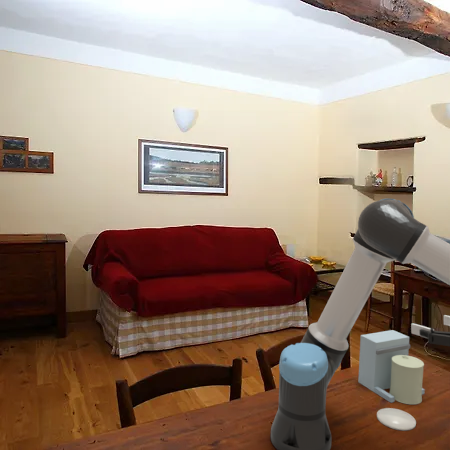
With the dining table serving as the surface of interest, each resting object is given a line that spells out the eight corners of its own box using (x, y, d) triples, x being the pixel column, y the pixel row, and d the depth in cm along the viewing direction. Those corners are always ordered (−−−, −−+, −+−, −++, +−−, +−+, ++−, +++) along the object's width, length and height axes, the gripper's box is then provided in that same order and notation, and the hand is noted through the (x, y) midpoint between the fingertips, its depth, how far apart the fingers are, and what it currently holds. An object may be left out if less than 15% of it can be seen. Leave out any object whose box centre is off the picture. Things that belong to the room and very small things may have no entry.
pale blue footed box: (424, 393, 129) (427, 344, 127) (390, 402, 123) (393, 351, 122) (390, 374, 142) (392, 329, 140) (358, 382, 136) (360, 335, 134)
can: (415, 390, 131) (417, 354, 130) (426, 405, 122) (429, 367, 121) (385, 388, 132) (387, 352, 131) (394, 403, 123) (396, 365, 122)
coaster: (391, 432, 108) (391, 430, 108) (369, 412, 118) (369, 410, 118) (424, 428, 111) (424, 425, 111) (400, 408, 120) (400, 406, 120)
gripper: (475, 373, 93) (398, 345, 112) (536, 350, 104) (457, 328, 123) (474, 340, 93) (397, 318, 112) (536, 321, 104) (456, 304, 123)
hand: (428, 323), depth 117 cm, fingers open, 13 cm apart
